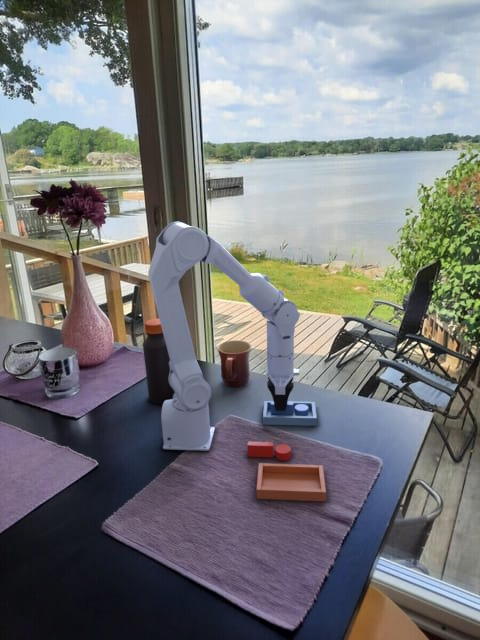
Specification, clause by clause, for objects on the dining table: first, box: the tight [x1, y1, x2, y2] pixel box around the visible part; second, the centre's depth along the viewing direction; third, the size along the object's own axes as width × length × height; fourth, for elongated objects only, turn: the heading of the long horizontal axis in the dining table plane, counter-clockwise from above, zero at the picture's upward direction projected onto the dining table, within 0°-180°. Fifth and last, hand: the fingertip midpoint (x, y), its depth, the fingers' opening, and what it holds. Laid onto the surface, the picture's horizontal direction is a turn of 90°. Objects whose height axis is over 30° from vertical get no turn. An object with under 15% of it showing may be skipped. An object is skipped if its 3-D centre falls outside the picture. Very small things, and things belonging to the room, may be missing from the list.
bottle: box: [142, 318, 175, 405], centre depth 106 cm, size 7×7×20 cm
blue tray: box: [262, 400, 318, 427], centre depth 99 cm, size 12×7×2 cm, turn 85°
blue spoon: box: [270, 400, 308, 416], centre depth 98 cm, size 8×3×3 cm, turn 84°
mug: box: [216, 340, 252, 389], centre depth 112 cm, size 12×9×10 cm
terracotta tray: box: [255, 462, 327, 502], centre depth 77 cm, size 12×7×2 cm, turn 85°
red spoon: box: [246, 441, 292, 461], centre depth 85 cm, size 8×3×3 cm, turn 85°
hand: (280, 407), depth 98 cm, fingers closed on blue spoon
